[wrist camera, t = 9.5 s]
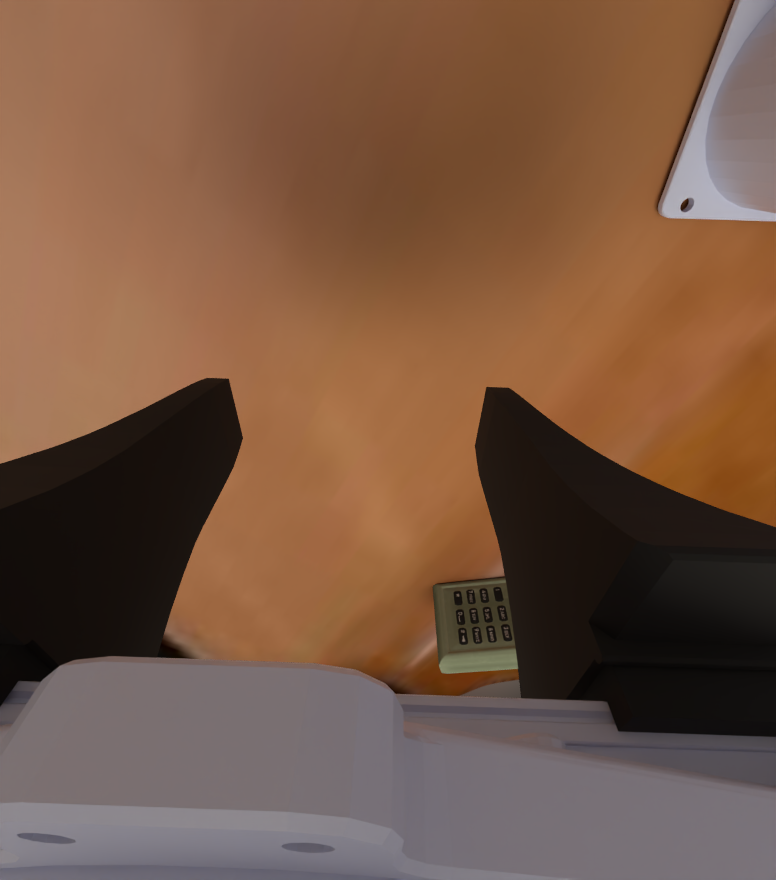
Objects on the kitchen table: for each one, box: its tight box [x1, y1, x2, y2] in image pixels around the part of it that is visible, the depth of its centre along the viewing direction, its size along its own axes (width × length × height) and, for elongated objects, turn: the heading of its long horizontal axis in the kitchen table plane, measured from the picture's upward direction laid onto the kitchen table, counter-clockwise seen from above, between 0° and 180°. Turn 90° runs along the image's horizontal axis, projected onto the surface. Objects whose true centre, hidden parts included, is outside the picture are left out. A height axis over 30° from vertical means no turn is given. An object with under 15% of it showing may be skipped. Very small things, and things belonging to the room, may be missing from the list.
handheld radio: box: [433, 577, 518, 674], centre depth 31 cm, size 7×3×25 cm
